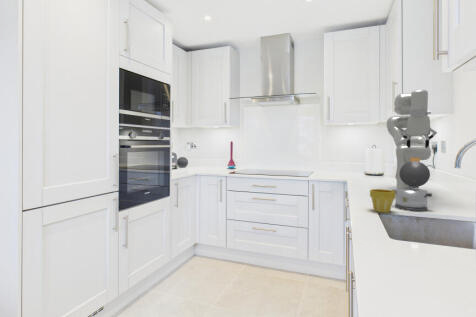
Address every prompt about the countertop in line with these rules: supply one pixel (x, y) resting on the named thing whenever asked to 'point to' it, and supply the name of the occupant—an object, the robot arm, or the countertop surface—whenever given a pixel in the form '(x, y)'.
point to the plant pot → (382, 199)
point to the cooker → (411, 199)
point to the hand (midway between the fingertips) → (417, 147)
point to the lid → (414, 173)
